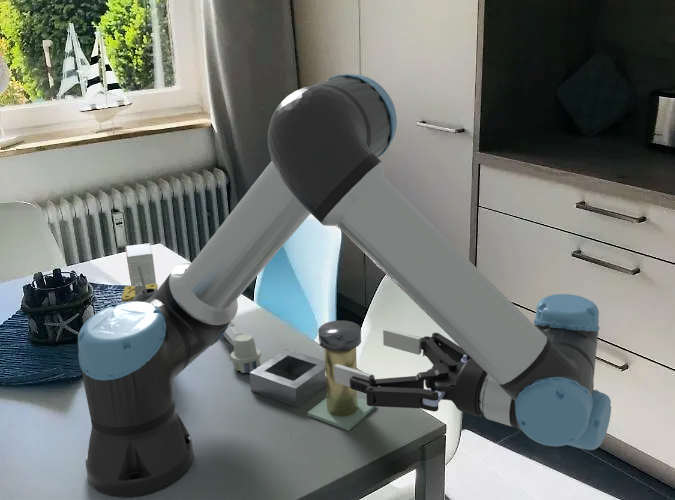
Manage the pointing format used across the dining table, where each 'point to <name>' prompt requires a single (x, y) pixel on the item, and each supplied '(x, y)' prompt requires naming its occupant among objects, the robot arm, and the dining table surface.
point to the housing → (290, 392)
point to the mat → (341, 422)
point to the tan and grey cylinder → (340, 363)
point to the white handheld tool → (242, 349)
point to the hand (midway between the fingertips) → (361, 353)
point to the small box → (140, 263)
